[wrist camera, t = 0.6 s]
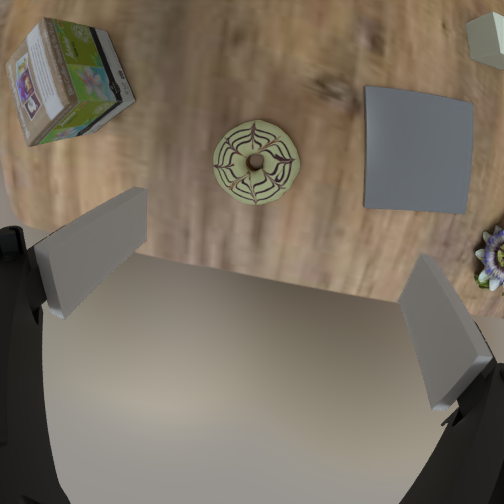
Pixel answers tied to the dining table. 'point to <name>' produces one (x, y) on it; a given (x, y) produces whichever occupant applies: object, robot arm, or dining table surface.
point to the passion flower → (492, 260)
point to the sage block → (487, 39)
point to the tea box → (66, 81)
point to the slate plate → (416, 151)
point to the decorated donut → (274, 166)
